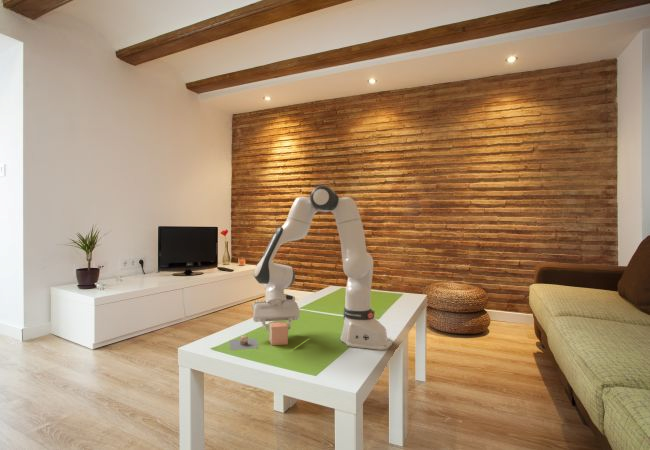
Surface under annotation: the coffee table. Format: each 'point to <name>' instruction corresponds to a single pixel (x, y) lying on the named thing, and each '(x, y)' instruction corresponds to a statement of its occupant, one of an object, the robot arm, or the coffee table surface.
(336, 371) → the coffee table surface
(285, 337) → the peach foam cube
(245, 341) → the tan rounded cylinder
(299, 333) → the coffee table surface
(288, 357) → the coffee table surface
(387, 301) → the coffee table surface
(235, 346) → the mat
